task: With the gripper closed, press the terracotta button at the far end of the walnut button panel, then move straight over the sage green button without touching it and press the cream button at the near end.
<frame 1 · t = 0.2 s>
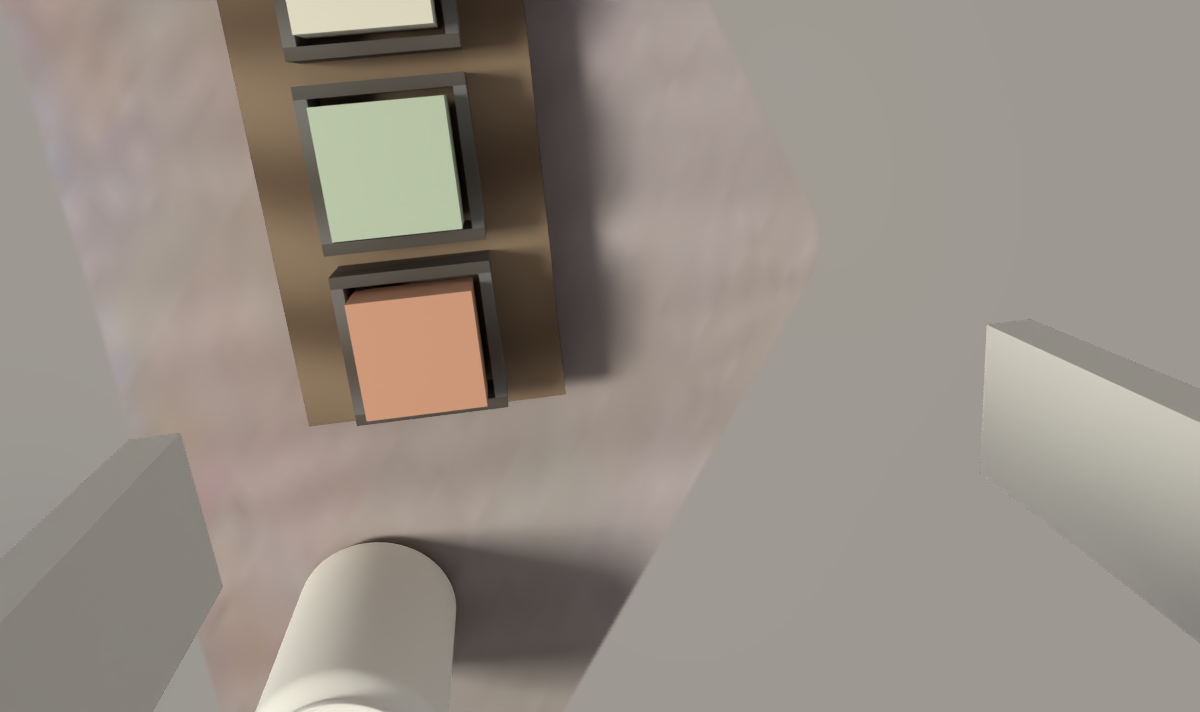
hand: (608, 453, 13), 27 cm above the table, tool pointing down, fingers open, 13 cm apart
terracotta button: (420, 348, 35), point 5 cm above the table, slide at 0.0 cm
sage button: (390, 167, 32), point 5 cm above the table, slide at 0.0 cm
button panel: (405, 156, 38), on the table
white canister: (381, 599, 45), on the table
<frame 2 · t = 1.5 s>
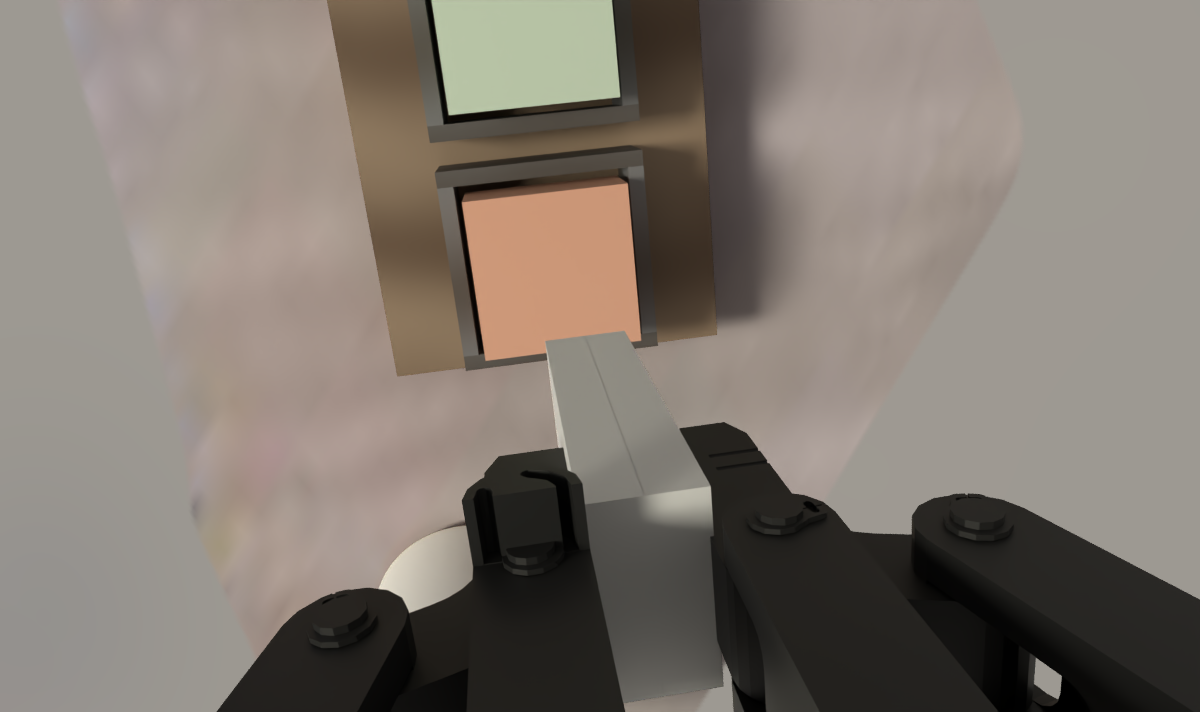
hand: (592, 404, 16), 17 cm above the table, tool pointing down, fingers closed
terracotta button: (552, 266, 27), point 5 cm above the table, slide at 0.0 cm
sage button: (522, 17, 24), point 5 cm above the table, slide at 0.0 cm
button panel: (518, 30, 30), on the table
white canister: (472, 596, 37), on the table
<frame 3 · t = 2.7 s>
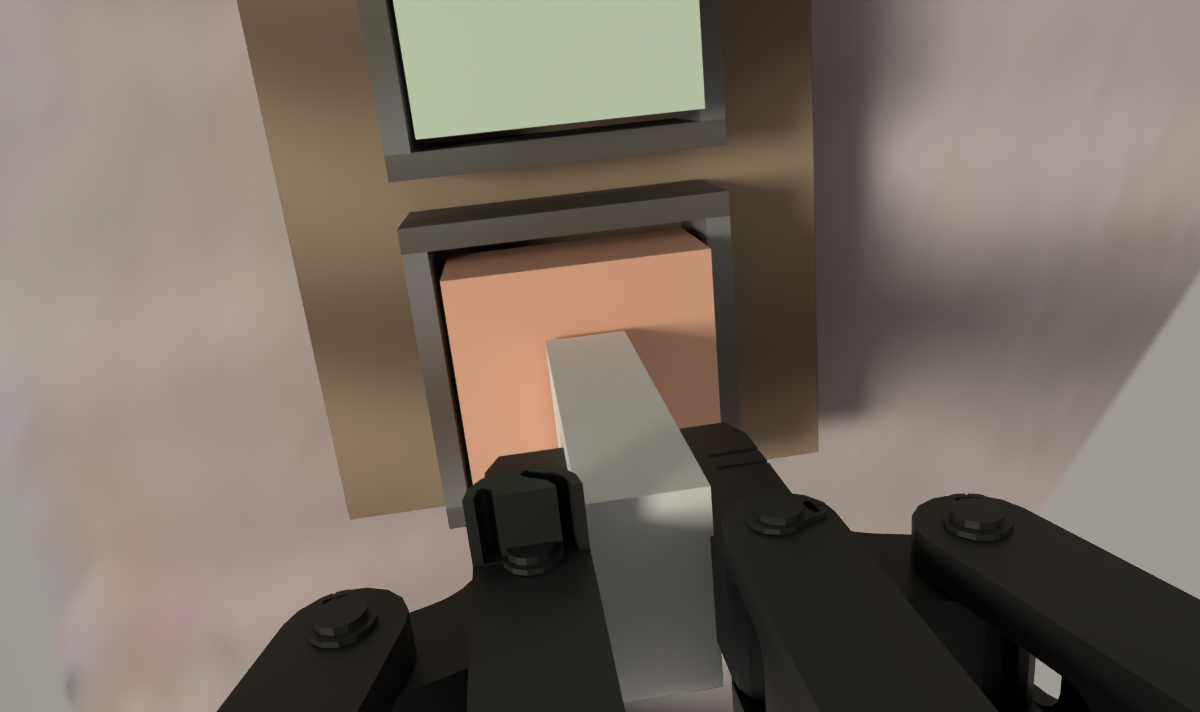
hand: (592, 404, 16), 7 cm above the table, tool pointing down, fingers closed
terracotta button: (584, 371, 17), point 5 cm above the table, slide at 0.2 cm, touching gripper
button panel: (529, 6, 20), on the table
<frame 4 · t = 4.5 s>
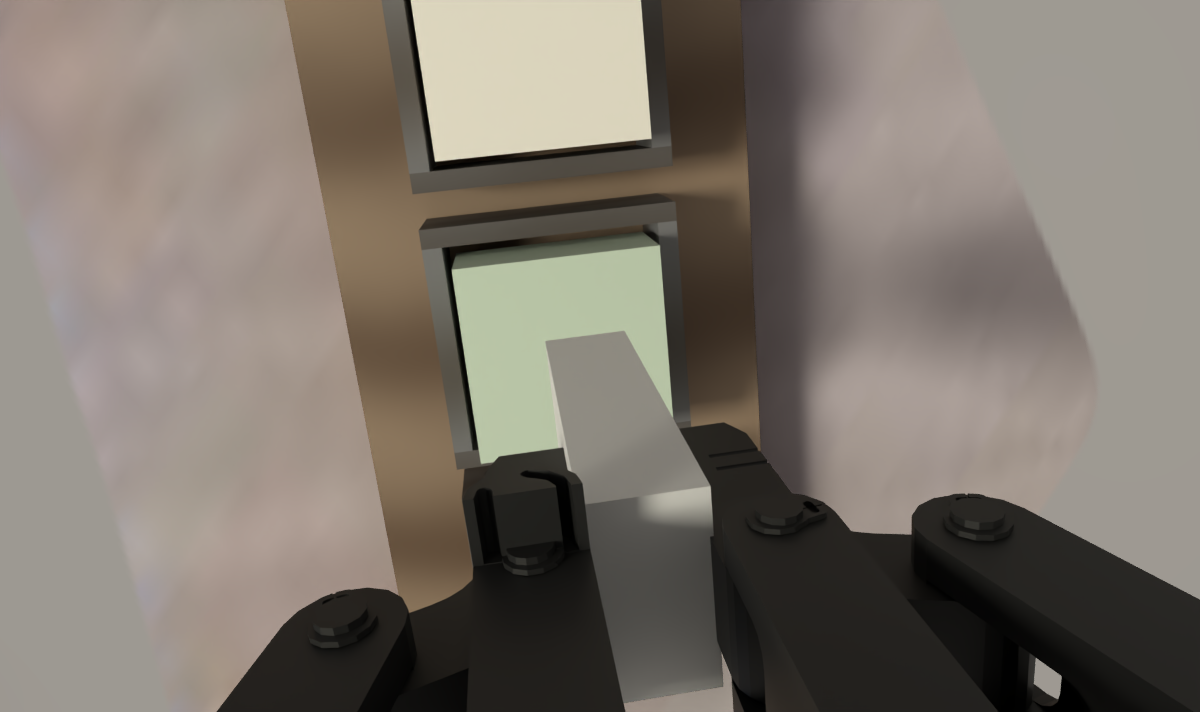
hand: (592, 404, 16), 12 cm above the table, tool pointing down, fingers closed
sage button: (564, 344, 22), point 5 cm above the table, slide at 0.0 cm
button panel: (551, 300, 27), on the table
cream button: (529, 39, 19), point 5 cm above the table, slide at 0.0 cm
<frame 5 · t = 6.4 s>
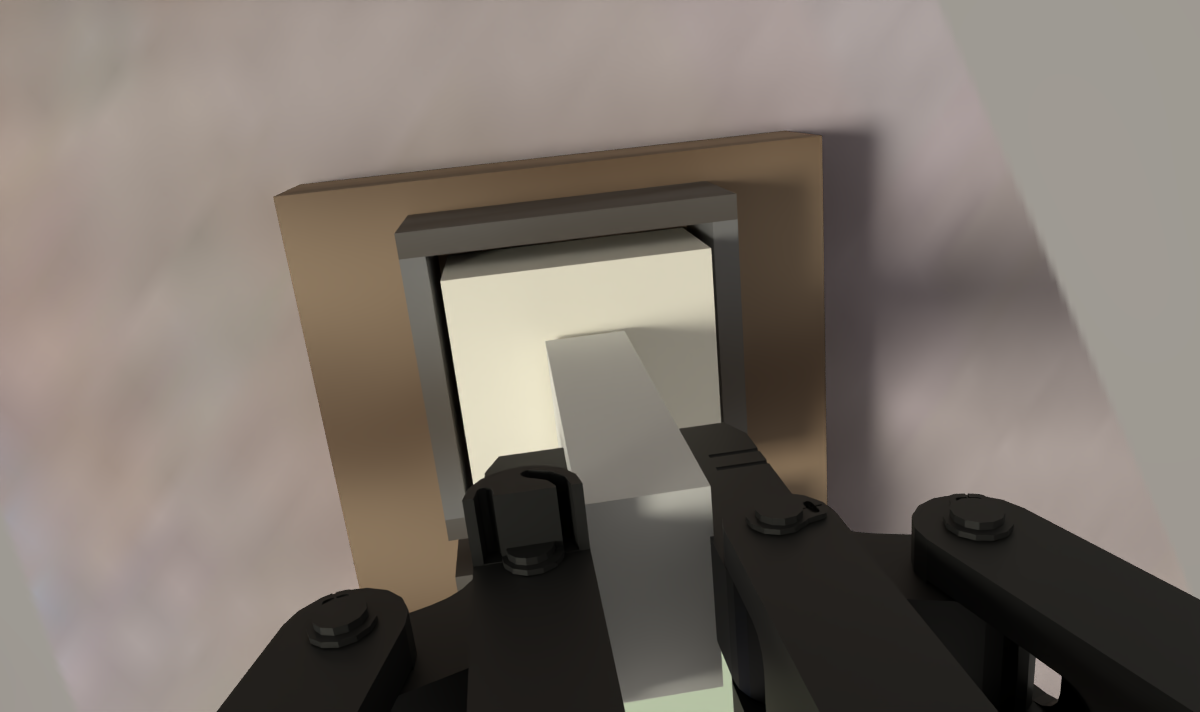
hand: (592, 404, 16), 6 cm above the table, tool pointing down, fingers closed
sage button: (622, 691, 19), point 5 cm above the table, slide at 0.0 cm
button panel: (595, 562, 24), on the table
cream button: (584, 371, 17), point 5 cm above the table, slide at 0.7 cm, touching gripper
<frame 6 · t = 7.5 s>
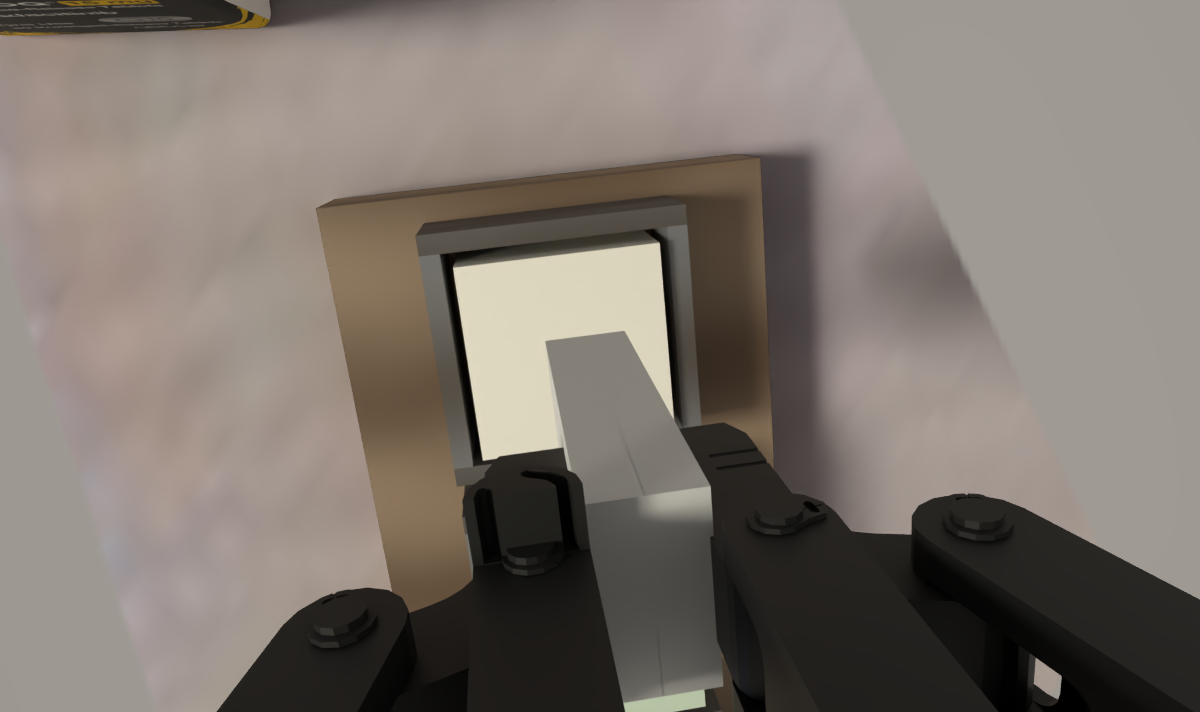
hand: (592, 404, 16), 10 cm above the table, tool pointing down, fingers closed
sage button: (599, 615, 23), point 5 cm above the table, slide at 0.0 cm
button panel: (580, 522, 28), on the table
cream button: (565, 341, 22), point 4 cm above the table, slide at 1.3 cm
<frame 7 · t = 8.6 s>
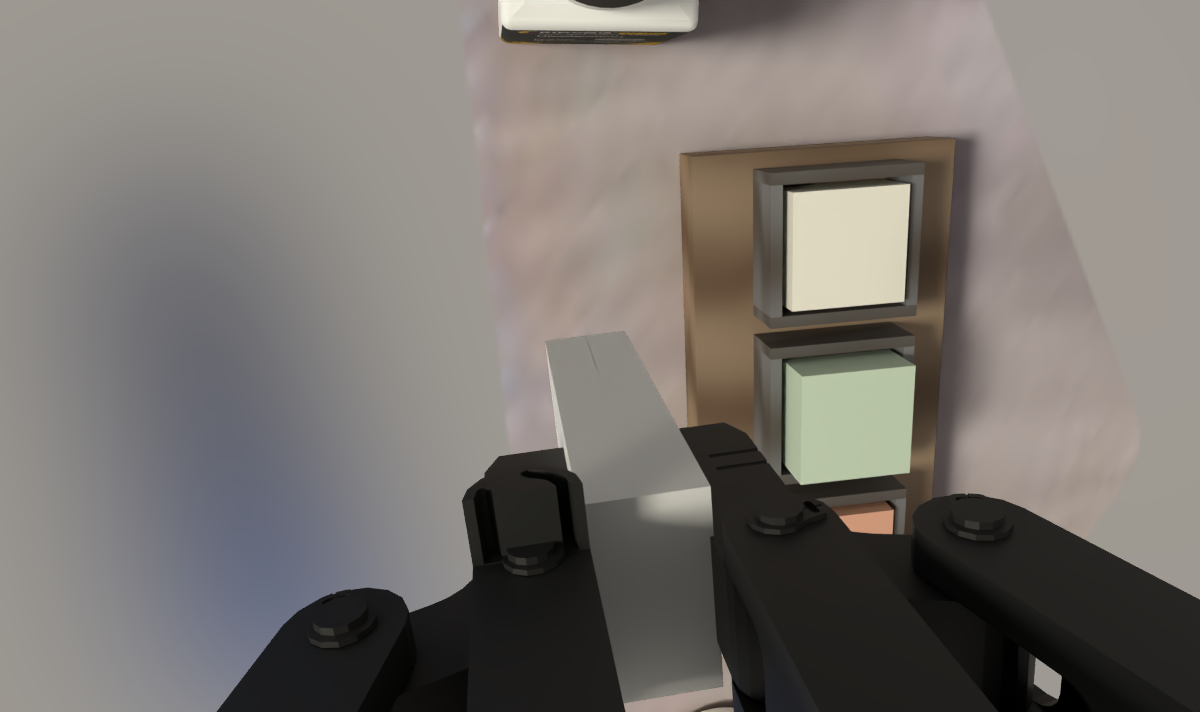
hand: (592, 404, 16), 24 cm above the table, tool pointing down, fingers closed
terracotta button: (830, 549, 40), point 4 cm above the table, slide at 1.3 cm
sage button: (845, 415, 37), point 5 cm above the table, slide at 0.0 cm
button panel: (802, 377, 42), on the table
cream button: (838, 244, 36), point 4 cm above the table, slide at 1.3 cm
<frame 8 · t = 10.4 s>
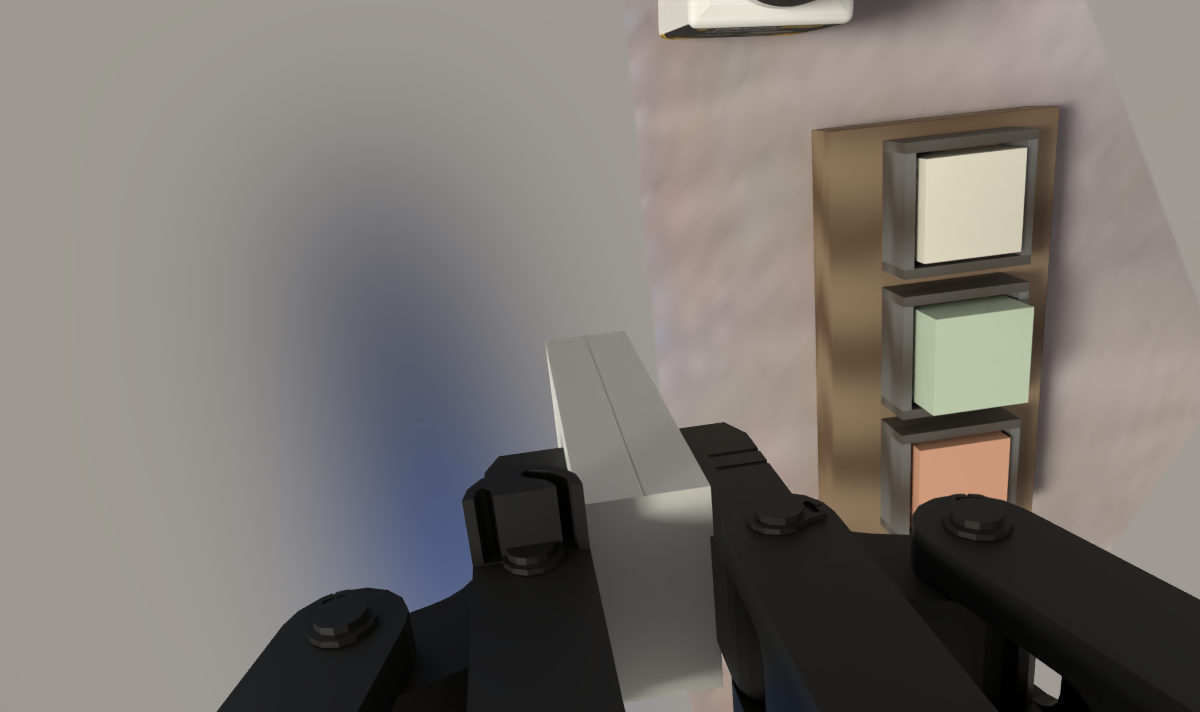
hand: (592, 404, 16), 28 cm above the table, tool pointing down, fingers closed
terracotta button: (951, 477, 45), point 4 cm above the table, slide at 1.3 cm
sage button: (969, 354, 42), point 5 cm above the table, slide at 0.0 cm
button panel: (917, 326, 47), on the table
cream button: (961, 203, 41), point 4 cm above the table, slide at 1.3 cm
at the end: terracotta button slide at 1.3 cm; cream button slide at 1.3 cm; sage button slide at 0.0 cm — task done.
